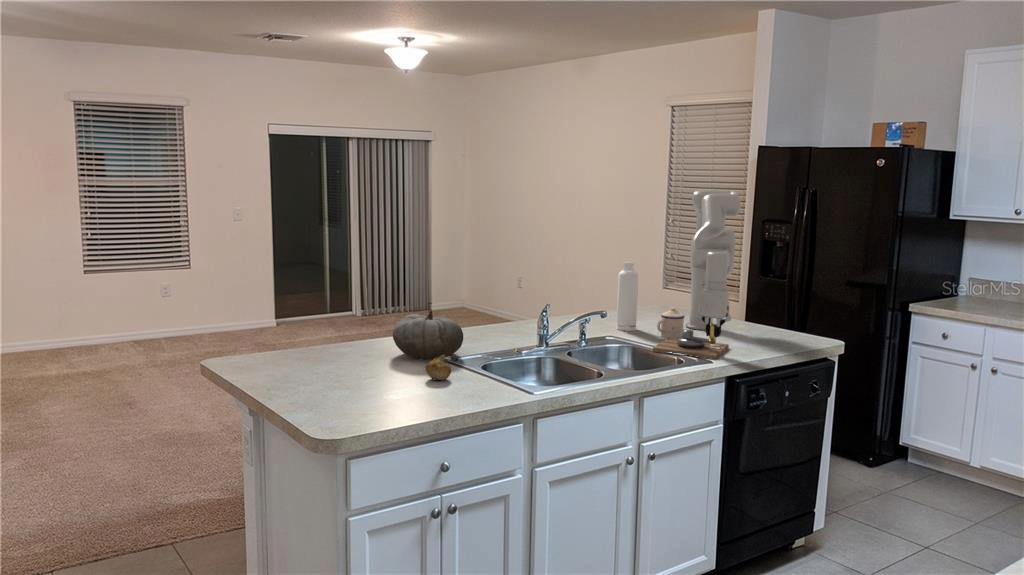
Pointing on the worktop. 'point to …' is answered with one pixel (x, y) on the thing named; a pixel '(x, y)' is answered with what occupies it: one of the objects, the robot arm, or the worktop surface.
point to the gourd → (427, 336)
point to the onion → (439, 368)
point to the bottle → (627, 297)
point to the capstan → (696, 338)
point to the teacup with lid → (671, 324)
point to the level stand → (691, 349)
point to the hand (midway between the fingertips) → (712, 335)
